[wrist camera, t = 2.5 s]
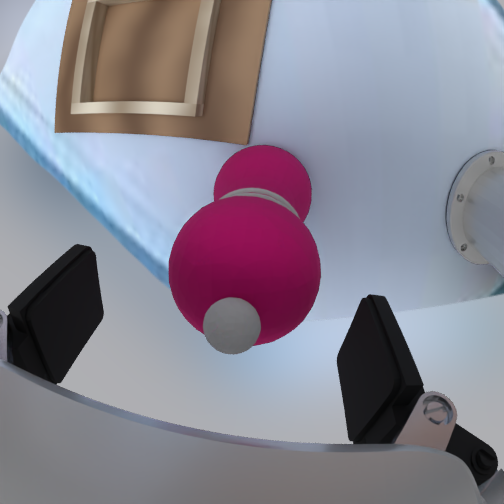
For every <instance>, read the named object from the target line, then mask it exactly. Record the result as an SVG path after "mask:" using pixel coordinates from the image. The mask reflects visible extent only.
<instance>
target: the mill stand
mask: <svg viewBox="0 0 504 504" xmlns="http://www.w3.org/2000/svg"><path fill="white" fill-rule="evenodd" d="M271 2H272V0H72V4H71V8H70V12H69V17H68V21H67V26H66V31H65V36H64V42H63V47H62V54H61V60H60V68H59V76H58V85H57V97H56V111H55V133H65V132H96V133H128V134H147V135H161V136H173V137H184V138H194V139H203V140H212V141H220V142H228V143H235V144H242V145H247V144H248V143H249V136H250V129H251V123H252V117H253V110H254V104H255V97H256V91H257V85H258V79H259V73H260V67H261V60H262V54H263V49H264V43H265V37H266V31H267V25H268V19H269V14H270V8H271Z"/></svg>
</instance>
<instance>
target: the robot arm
mask: <svg viewBox="0 0 504 504" xmlns="http://www.w3.org/2000/svg"><path fill="white" fill-rule="evenodd" d="M446 219H447V229H448V233H449V237H450V240H451V242H452V244H453V246H454V248H455V249H456V250H457V251H458V253H459V254H460V255H461V256H462V257H464V258H465V259H466V260H467V261H469V262H471V263H474V264H478V265H486V264H491V265H492V266H493V267H494V268H495V269H496V270H497V271H498V272H499V273H500V274H501V275H502V276H503V278H504V152H501V151H497V150H489V151H485V152H482V153H479V154H478V155H476V156H475V157H473V158H472V159H471V160H470V161H469V162H468V163H466V164H465V165H464V167H463V168H462V170H461V171H460V172H459V174H458V176H457V178H456V180H455V182H454V184H453V186H452V189H451V192H450V195H449V200H448V205H447V218H446ZM8 309H9V312H10V314H9V315H8V316H7V315H6V314H5V312H3V311H2V310H0V504H504V471H503V470H502V469H500V470H499V471H498V470H497V466H498V460H497V456H496V453H495V451H494V450H493V449H492V448H491V447H490V446H489V445H488V444H486V443H485V442H483V441H482V440H480V439H479V438H477V437H476V436H474V435H473V434H471V433H469V432H468V431H467V430H465V429H464V428H462V427H461V426H459V425H458V424H456V420H457V411H456V408H455V406H454V404H453V402H452V401H451V400H450V399H449V398H448V397H447V396H445V395H444V394H441V393H439V392H434V391H431V392H426V393H425V392H424V389H423V382H422V379H421V377H420V375H419V372H418V369H417V367H416V364H415V362H414V360H413V357H412V355H411V352H410V350H409V348H408V345H407V343H406V341H405V339H404V336H403V334H402V332H401V329H400V327H399V325H398V323H397V321H396V319H395V316H394V314H393V312H392V310H391V308H390V305H389V303H388V301H387V299H386V298H385V297H384V296H378V295H371V294H369V295H368V296H367V297H366V298H362V300H361V302H360V304H359V307H358V309H357V311H356V314H355V316H354V319H353V321H352V323H351V326H350V328H349V330H348V333H347V335H346V337H345V339H344V342H343V344H342V346H341V348H340V351H339V353H338V356H337V367H338V373H339V379H340V384H341V391H342V397H343V403H344V409H345V417H346V424H347V431H348V438H349V440H350V441H353V444H321V443H299V442H285V441H274V440H265V439H264V440H263V439H256V438H248V437H241V436H234V435H228V434H221V433H216V432H210V431H205V430H200V429H195V428H190V427H186V426H181V425H177V424H172V423H168V422H164V421H160V420H156V419H153V418H149V417H146V416H142V415H139V414H135V413H132V412H129V411H125V410H122V409H119V408H116V407H113V406H110V405H107V404H104V403H101V402H98V401H96V400H93V399H90V398H88V397H85V396H82V395H79V394H77V393H75V392H72V391H70V390H67V389H65V388H62V387H60V386H58V385H56V384H57V383H61V382H62V380H63V379H64V377H65V375H66V374H67V372H68V371H69V369H70V368H71V366H72V364H73V363H74V361H75V360H76V358H77V357H78V355H79V354H80V352H81V350H82V349H83V347H84V346H85V344H86V343H87V341H88V340H89V338H90V337H91V335H92V334H93V332H94V331H95V329H96V328H97V326H98V325H99V324H100V322H101V321H102V319H103V314H104V311H103V304H102V299H101V293H100V285H99V278H98V271H97V262H96V255H95V252H93V251H92V249H91V247H89V246H84V245H79V244H76V245H74V246H73V247H72V248H71V249H69V250H68V251H67V252H66V253H65V254H63V255H62V256H61V257H60V258H59V259H58V260H56V261H55V262H54V263H53V264H52V265H51V266H50V267H49V268H47V269H46V270H45V271H44V272H43V273H42V274H41V275H40V276H39V277H38V278H36V279H35V280H34V281H33V282H32V283H31V284H30V285H29V286H28V287H27V288H26V289H25V290H24V291H23V292H22V293H21V294H20V295H19V296H18V297H17V298H16V299H15V300H14V301H13V302H12V303H11V304H10V305H9V306H8Z"/></svg>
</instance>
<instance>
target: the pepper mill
mask: <svg viewBox="0 0 504 504" xmlns="http://www.w3.org/2000/svg"><path fill="white" fill-rule="evenodd" d="M310 205H311V183H310V179H309V176H308V174H307V172H306V170H305V168H304V167H303V165H302V164H301V163H300V161H299V160H297V159H296V158H295V157H294V156H293V155H292V154H290V153H289V152H287V151H285V150H283V149H281V148H277V147H274V146H267V145H256V146H251V147H248V148H245V149H242V150H240V151H239V152H237V153H235V154H234V155H233V156H231V157H230V158H229V159H228V160H227V161H226V163H225V164H224V165H223V166H222V168H221V170H220V172H219V174H218V176H217V178H216V181H215V186H214V202H212V203H210V204H208V205H206V206H204V207H202V208H201V209H200V210H199V211H198V212H197V213H195V214H194V215H193V216H192V217H191V218H190V219H189V220H188V221H187V222H186V223H185V224H184V226H183V227H182V229H181V230H180V232H179V234H178V236H177V238H176V240H175V242H174V244H173V247H172V251H171V254H170V258H169V284H170V287H171V291H172V295H173V298H174V300H175V303H176V305H177V306H178V309H179V310H180V311H181V313H182V314H183V316H184V317H185V319H186V320H187V321H188V322H189V323H190V324H191V325H193V327H195V328H196V329H197V330H198V331H200V332H201V333H203V334H204V335H205V337H206V339H207V341H208V342H209V343H210V345H211V346H212V347H214V348H215V349H216V350H218V351H220V352H222V353H225V354H238V353H242V352H244V351H247V350H248V349H250V348H251V347H252V346H255V345H261V344H265V343H269V342H273V341H275V340H277V339H279V338H281V337H283V336H285V335H286V334H288V333H289V332H291V331H292V330H294V329H295V328H296V327H297V326H298V325H299V324H300V323H301V322H302V321H303V320H304V319H305V317H306V316H307V314H308V313H309V311H310V310H311V308H312V307H313V304H314V302H315V299H316V296H317V294H318V291H319V285H320V278H321V268H320V258H319V254H318V250H317V246H316V243H315V241H314V239H313V237H312V235H311V233H310V231H309V229H308V228H307V227H306V226H305V225H304V223H303V222H304V220H305V218H306V216H307V214H308V212H309V209H310Z"/></svg>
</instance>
